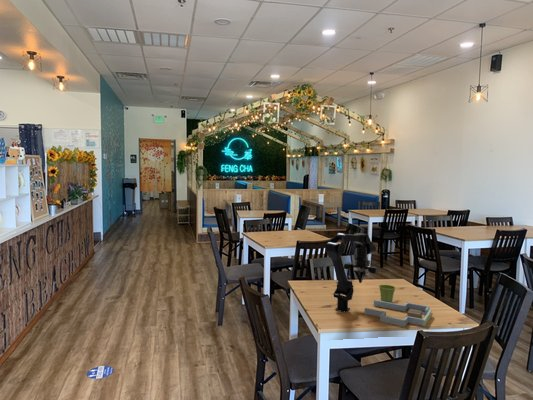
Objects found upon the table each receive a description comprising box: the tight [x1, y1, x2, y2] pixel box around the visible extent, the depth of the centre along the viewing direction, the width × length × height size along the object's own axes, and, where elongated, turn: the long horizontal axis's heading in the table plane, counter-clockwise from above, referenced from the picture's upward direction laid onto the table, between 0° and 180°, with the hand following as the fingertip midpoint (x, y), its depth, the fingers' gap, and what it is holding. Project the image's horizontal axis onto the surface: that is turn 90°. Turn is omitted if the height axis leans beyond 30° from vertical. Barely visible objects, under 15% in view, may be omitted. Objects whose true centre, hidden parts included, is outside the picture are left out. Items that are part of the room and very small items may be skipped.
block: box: [406, 309, 423, 319], centre depth 201 cm, size 6×6×4 cm
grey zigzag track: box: [363, 299, 432, 327], centre depth 206 cm, size 29×30×3 cm
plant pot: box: [378, 284, 397, 303], centre depth 228 cm, size 9×9×9 cm
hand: (360, 282), depth 223 cm, fingers closed
